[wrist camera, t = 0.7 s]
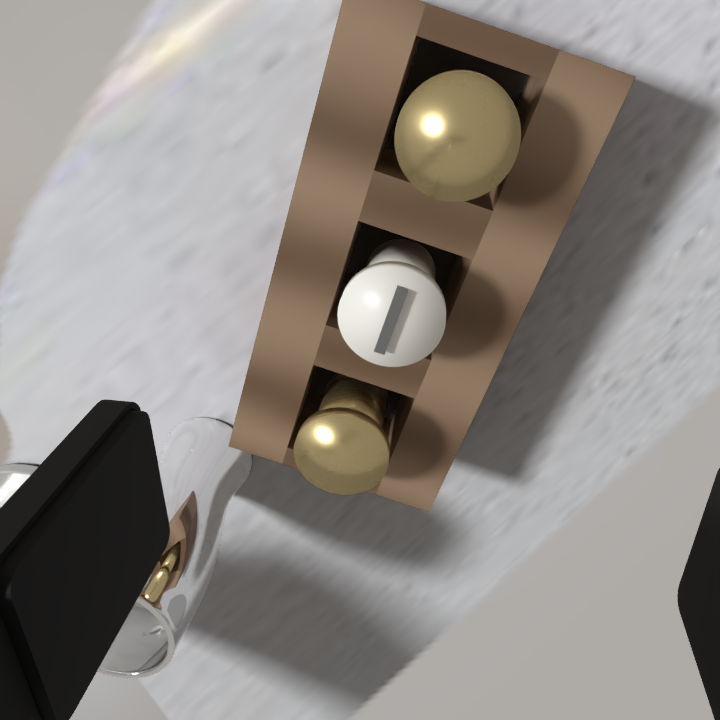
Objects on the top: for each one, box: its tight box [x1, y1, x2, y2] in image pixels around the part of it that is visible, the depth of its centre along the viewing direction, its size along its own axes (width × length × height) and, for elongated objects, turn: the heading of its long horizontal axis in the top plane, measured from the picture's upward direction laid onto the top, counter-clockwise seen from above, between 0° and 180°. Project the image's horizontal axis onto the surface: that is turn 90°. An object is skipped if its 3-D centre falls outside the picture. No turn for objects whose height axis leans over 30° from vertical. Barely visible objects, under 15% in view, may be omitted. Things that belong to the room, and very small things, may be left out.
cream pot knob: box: [337, 239, 446, 367], centre depth 31 cm, size 5×5×6 cm
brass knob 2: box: [394, 70, 521, 202], centre depth 28 cm, size 5×5×6 cm
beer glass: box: [97, 417, 252, 678], centre depth 39 cm, size 7×7×15 cm
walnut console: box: [229, 0, 635, 512], centre depth 34 cm, size 24×12×6 cm, turn 163°
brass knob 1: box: [294, 373, 390, 495], centre depth 35 cm, size 5×5×6 cm
